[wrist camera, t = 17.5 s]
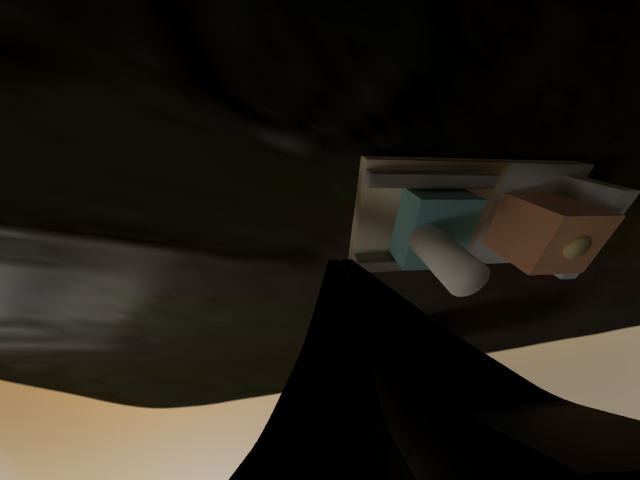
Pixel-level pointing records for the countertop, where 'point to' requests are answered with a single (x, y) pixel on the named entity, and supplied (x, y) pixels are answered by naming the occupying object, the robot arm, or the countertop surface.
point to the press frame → (470, 174)
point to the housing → (549, 232)
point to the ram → (440, 236)
